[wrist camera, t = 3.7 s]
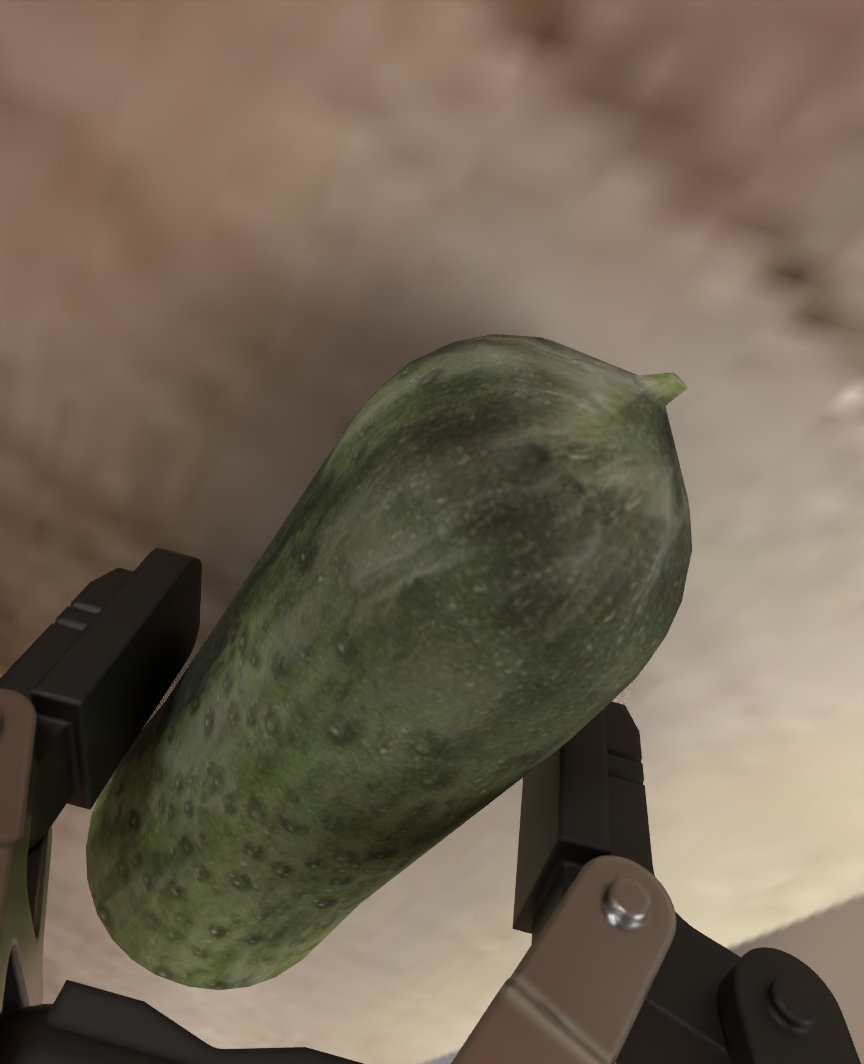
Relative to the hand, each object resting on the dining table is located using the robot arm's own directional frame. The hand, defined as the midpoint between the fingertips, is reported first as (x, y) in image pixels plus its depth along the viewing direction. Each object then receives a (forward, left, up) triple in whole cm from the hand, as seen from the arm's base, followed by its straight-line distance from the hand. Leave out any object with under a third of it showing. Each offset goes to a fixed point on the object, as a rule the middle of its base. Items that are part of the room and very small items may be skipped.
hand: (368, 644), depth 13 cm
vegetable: (0, 0, -1) cm, 1 cm away
